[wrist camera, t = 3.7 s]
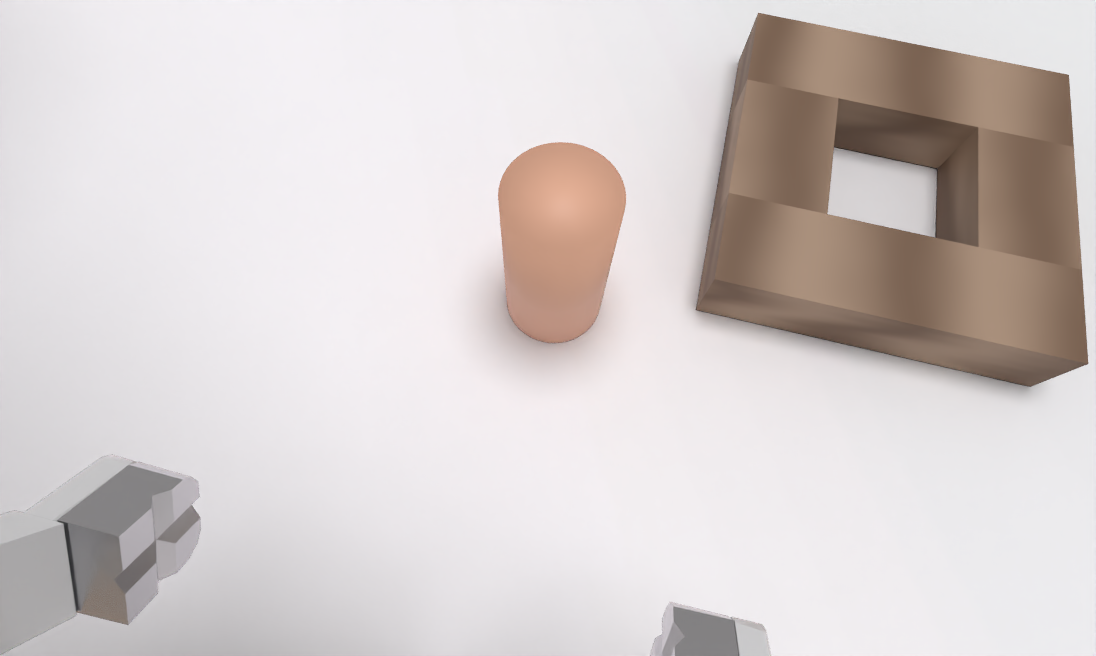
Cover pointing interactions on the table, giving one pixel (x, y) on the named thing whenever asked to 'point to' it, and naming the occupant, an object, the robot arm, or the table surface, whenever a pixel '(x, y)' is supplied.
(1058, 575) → the table surface
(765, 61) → the pin board
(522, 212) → the pin
